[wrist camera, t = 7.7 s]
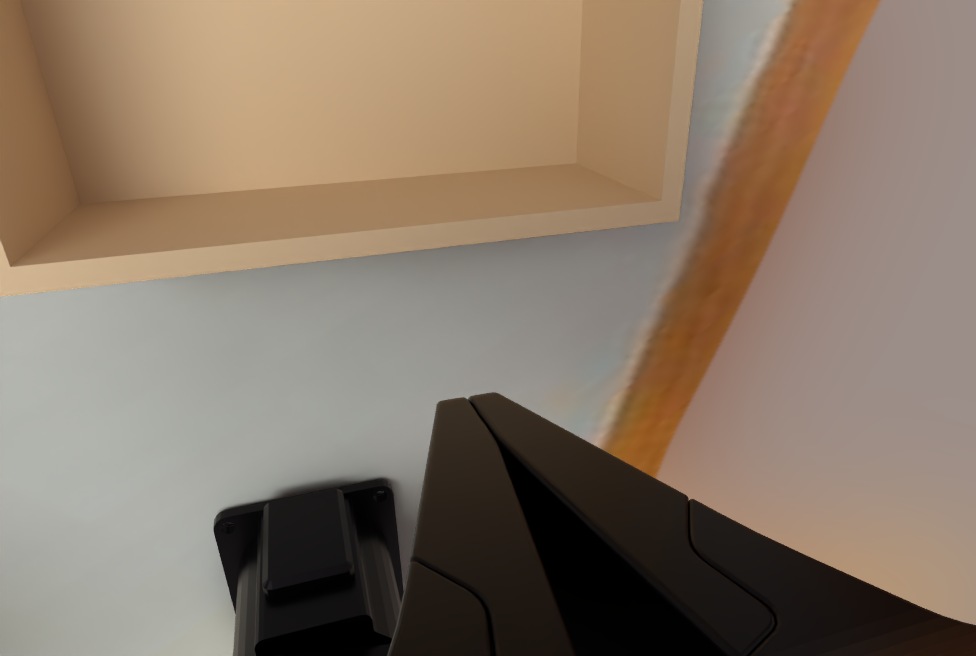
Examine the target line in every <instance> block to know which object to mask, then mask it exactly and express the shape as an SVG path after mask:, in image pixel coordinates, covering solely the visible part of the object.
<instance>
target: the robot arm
mask: <svg viewBox="0 0 976 656" xmlns="http://www.w3.org/2000/svg"><path fill="white" fill-rule="evenodd" d="M379 491H384V493H383V494H381V495H375V494H376V493H377V492H379ZM225 523H233V524H234V525H232V526H225V525H223V524H225ZM214 534H215V538H216V542H217V546H218V550H219V553H220V557H221V561H222V565H223V569H224V572H225V576H226V580H227V584H228V587H229V591H230V595H231V599H232V603H233V606H234V610H235V614H236V618H235V633H234V649H233V656H976V625H973V624H968V623H964V622H960V621H958V620H954V619H951V618H948V617H945V616H942V615H940V614H937V613H934V612H932V611H930V610H927V609H925V608H922V607H920V606H918V605H915V604H913V603H911V602H909V601H907V600H904V599H902V598H900V597H898V596H895V595H893V594H891V593H889V592H887V591H884V590H882V589H880V588H877V587H875V586H873V585H871V584H869V583H866V582H864V581H862V580H859V579H857V578H855V577H853V576H851V575H849V574H846V573H844V572H842V571H839V570H837V569H835V568H833V567H831V566H828V565H826V564H824V563H822V562H819V561H817V560H815V559H813V558H811V557H808V556H806V555H804V554H802V553H800V552H798V551H795V550H793V549H791V548H789V547H787V546H785V545H783V544H781V543H778V542H776V541H774V540H772V539H770V538H768V537H765V536H763V535H761V534H759V533H757V532H755V531H753V530H751V529H749V528H747V527H746V526H743V525H742V524H740V523H738V522H736V521H734V520H732V519H730V518H728V517H726V516H724V515H722V514H720V513H718V512H716V511H715V510H713V509H711V508H709V507H707V506H705V505H704V504H702V503H700V502H698V501H696V500H694V499H690V500H688V497H687V496H686V495H685V494H683V493H681V492H679V491H677V490H676V489H674V488H672V487H670V486H668V485H666V484H664V483H663V482H661V481H659V480H657V479H655V478H653V477H652V476H650V475H648V474H646V473H644V472H642V471H641V470H639V469H637V468H635V467H633V466H631V465H629V464H628V463H626V462H624V461H622V460H620V459H618V458H617V457H615V456H613V455H611V454H609V453H607V452H605V451H604V450H602V449H600V448H598V447H596V446H594V445H593V444H591V443H589V442H587V441H585V440H583V439H582V438H580V437H578V436H576V435H574V434H572V433H570V432H569V431H567V430H565V429H563V428H561V427H559V426H558V425H556V424H554V423H552V422H550V421H548V420H546V419H545V418H543V417H541V416H539V415H537V414H535V413H534V412H532V411H530V410H528V409H526V408H524V407H522V406H521V405H519V404H517V403H515V402H513V401H511V400H510V399H508V398H506V397H504V396H502V395H500V394H498V393H494V392H492V393H486V394H480V395H474V396H471V397H469V398H468V400H467V399H466V398H456V399H449V400H443V401H440V402H438V404H437V407H436V413H435V419H434V424H433V430H432V436H431V442H430V447H429V453H428V459H427V465H426V470H425V476H424V482H423V488H422V493H421V499H420V505H419V511H418V516H417V522H416V528H415V534H414V539H413V545H412V551H411V557H410V564H409V566H408V571H407V577H406V583H405V589H404V592H403V583H402V573H401V564H400V554H399V544H398V535H397V525H396V516H395V506H394V497H393V491H392V487H391V485H390V483H389V482H388V481H386V480H374V481H369V482H364V483H359V484H354V485H349V486H344V487H339V488H334V489H329V490H324V491H319V492H314V493H309V494H304V495H299V496H294V497H289V498H284V499H279V500H274V501H270V502H265V503H260V504H255V505H250V506H245V507H240V508H235V509H230V510H226V511H223V512H221V513H219V514H218V515H217V516H216V518H215V520H214Z"/></svg>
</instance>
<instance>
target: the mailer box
mask: <svg viewBox="0 0 976 656" xmlns="http://www.w3.org/2000/svg"><path fill="white" fill-rule="evenodd" d="M702 9H703V0H0V297H4V296H13V295H22V294H31V293H39V292H48V291H57V290H66V289H75V288H84V287H93V286H102V285H111V284H120V283H129V282H138V281H147V280H156V279H165V278H174V277H183V276H191V275H200V274H209V273H218V272H227V271H236V270H245V269H254V268H263V267H272V266H281V265H290V264H299V263H308V262H317V261H326V260H335V259H343V258H352V257H361V256H370V255H379V254H388V253H397V252H406V251H415V250H424V249H433V248H442V247H451V246H460V245H469V244H478V243H487V242H496V241H504V240H513V239H522V238H531V237H540V236H549V235H558V234H567V233H576V232H585V231H594V230H603V229H612V228H621V227H630V226H639V225H648V224H656V223H665V222H674V221H679V217H680V208H681V199H682V190H683V181H684V172H685V163H686V154H687V145H688V136H689V127H690V118H691V109H692V100H693V91H694V82H695V73H696V64H697V55H698V45H699V36H700V27H701V18H702Z"/></svg>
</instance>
